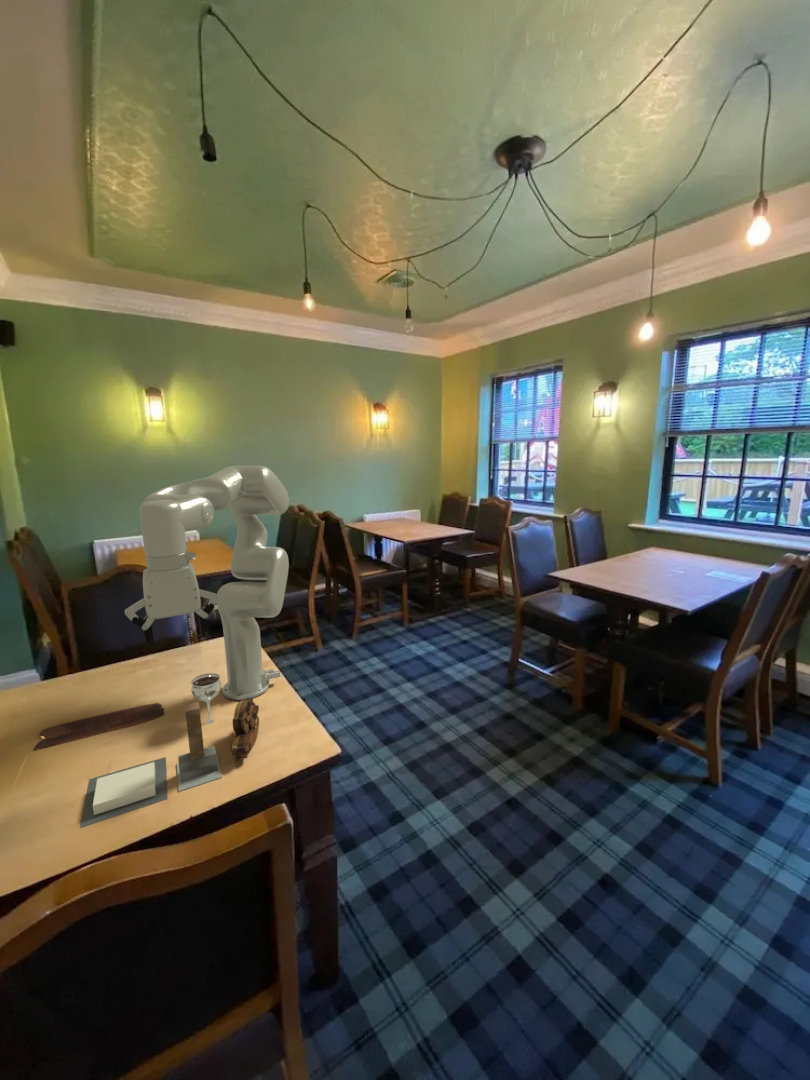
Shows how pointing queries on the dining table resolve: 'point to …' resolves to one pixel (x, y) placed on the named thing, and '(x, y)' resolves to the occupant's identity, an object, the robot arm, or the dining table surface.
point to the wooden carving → (245, 727)
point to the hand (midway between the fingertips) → (178, 639)
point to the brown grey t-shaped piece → (196, 748)
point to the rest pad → (198, 778)
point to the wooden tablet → (98, 725)
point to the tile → (124, 788)
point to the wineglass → (206, 689)
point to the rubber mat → (160, 796)
